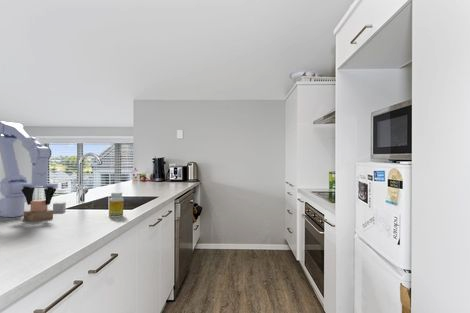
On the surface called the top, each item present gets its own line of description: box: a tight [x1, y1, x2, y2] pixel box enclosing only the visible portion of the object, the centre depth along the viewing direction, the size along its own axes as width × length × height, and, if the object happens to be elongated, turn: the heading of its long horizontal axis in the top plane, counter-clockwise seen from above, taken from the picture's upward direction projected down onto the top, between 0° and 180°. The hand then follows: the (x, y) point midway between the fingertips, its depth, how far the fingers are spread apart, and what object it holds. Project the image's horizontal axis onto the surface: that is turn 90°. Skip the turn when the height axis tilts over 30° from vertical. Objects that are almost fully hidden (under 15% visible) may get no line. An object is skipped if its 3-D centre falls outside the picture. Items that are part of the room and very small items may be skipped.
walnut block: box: [22, 208, 54, 223], centre depth 124 cm, size 8×8×4 cm
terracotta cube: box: [30, 199, 48, 212], centre depth 125 cm, size 4×4×4 cm
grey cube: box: [52, 201, 67, 214], centre depth 142 cm, size 4×4×4 cm
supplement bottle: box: [108, 191, 125, 219], centre depth 134 cm, size 6×6×11 cm
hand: (38, 204), depth 125 cm, fingers open, 7 cm apart
